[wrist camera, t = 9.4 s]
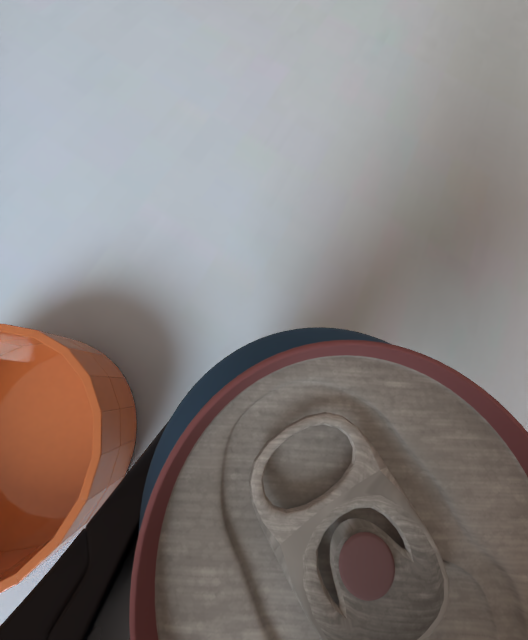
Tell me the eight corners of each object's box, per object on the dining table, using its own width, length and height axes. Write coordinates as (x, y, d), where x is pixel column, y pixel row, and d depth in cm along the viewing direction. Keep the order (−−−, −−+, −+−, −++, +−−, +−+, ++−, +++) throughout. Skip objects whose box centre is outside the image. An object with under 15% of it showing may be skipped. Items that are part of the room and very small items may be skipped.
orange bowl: (177, 439, 17) (153, 455, 13) (-4, 612, 15) (-103, 699, 11) (64, 302, 19) (13, 279, 15) (-113, 434, 17) (-231, 449, 13)
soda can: (364, 452, 15) (793, 688, 3) (256, 530, 13) (281, 1404, 2) (296, 345, 16) (412, 227, 4) (194, 408, 15) (-17, 469, 3)
